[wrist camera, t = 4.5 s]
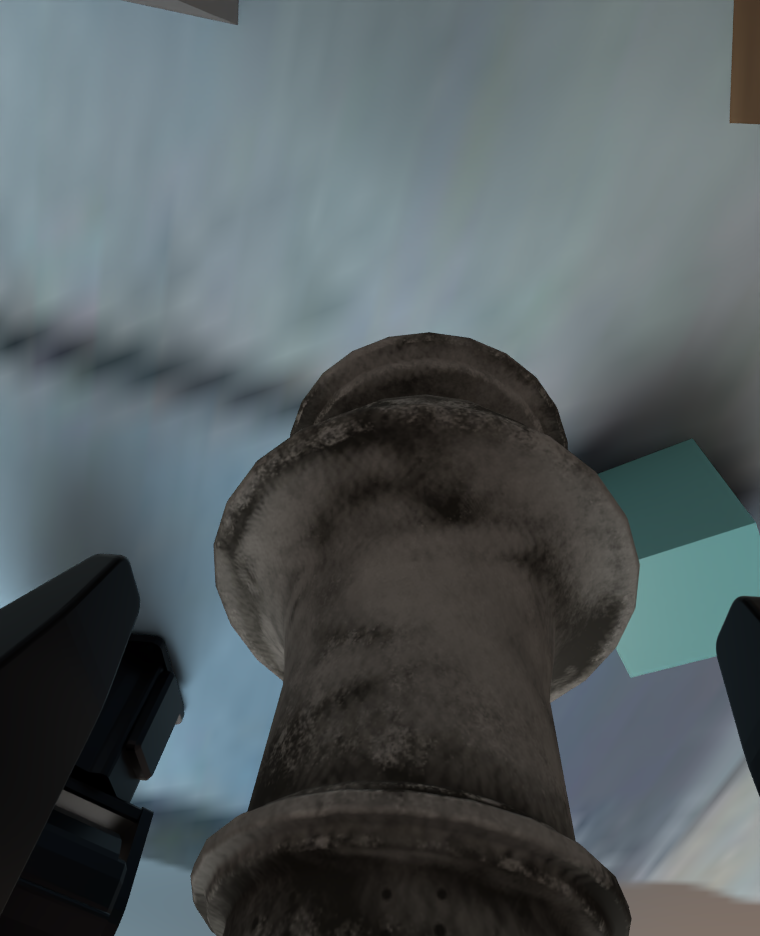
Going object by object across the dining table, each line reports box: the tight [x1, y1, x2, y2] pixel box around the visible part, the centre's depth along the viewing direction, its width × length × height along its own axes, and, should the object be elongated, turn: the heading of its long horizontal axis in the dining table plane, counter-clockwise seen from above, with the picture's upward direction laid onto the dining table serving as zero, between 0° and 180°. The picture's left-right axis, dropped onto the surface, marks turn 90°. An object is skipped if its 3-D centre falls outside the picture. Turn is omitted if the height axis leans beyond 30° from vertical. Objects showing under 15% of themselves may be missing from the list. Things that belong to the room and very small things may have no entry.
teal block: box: [598, 439, 760, 677], centre depth 20 cm, size 5×5×5 cm
